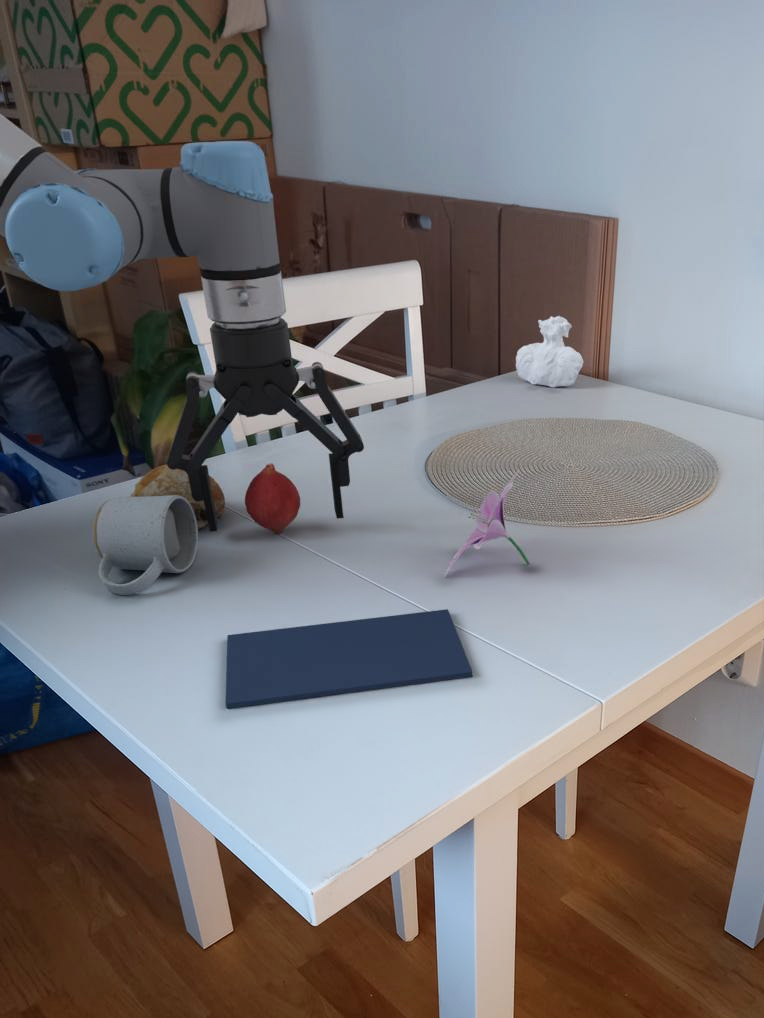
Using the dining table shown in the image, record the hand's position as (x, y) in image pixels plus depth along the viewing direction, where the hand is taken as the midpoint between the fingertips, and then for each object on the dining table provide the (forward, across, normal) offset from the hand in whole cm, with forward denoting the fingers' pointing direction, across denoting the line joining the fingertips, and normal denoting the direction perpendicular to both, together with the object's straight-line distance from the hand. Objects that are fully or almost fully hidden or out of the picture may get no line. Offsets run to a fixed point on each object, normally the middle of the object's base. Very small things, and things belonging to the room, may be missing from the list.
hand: (277, 520), depth 101 cm
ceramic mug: (+2, -13, -7) cm, 15 cm away
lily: (+2, +21, -13) cm, 25 cm away
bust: (+2, +46, +50) cm, 68 cm away
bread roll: (+2, -11, +7) cm, 13 cm away
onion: (+2, 0, 0) cm, 2 cm away
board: (+2, +5, -28) cm, 28 cm away
